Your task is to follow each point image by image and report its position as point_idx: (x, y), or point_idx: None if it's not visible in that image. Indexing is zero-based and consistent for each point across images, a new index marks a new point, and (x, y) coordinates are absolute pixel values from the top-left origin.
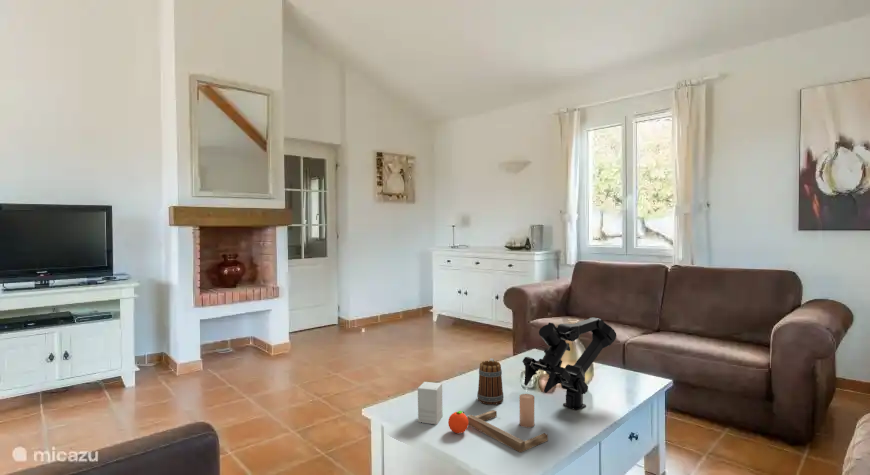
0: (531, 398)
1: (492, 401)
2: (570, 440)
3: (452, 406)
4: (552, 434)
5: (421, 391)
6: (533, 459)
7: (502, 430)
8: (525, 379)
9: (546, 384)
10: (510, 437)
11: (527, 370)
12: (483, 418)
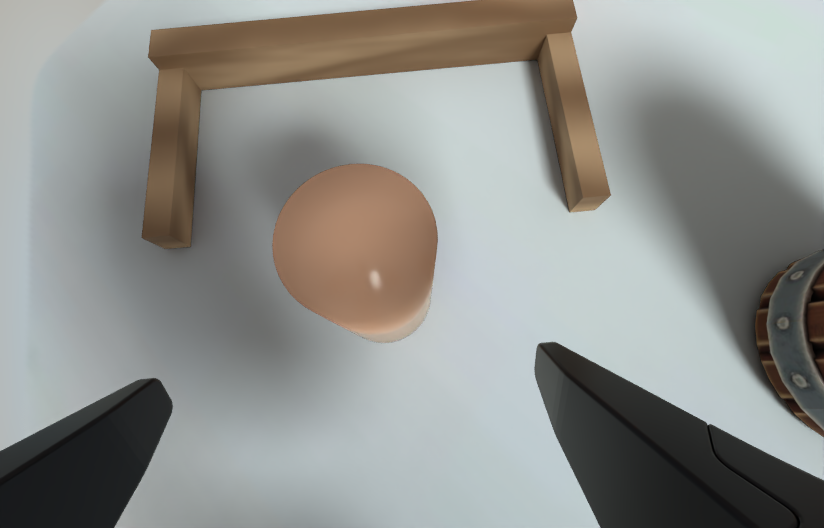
0: (284, 240)
1: (773, 297)
2: (78, 361)
3: (818, 86)
4: (195, 328)
5: None
6: (103, 76)
7: (310, 39)
8: (589, 373)
9: (40, 447)
10: (225, 27)
11: (771, 518)
12: (553, 106)
